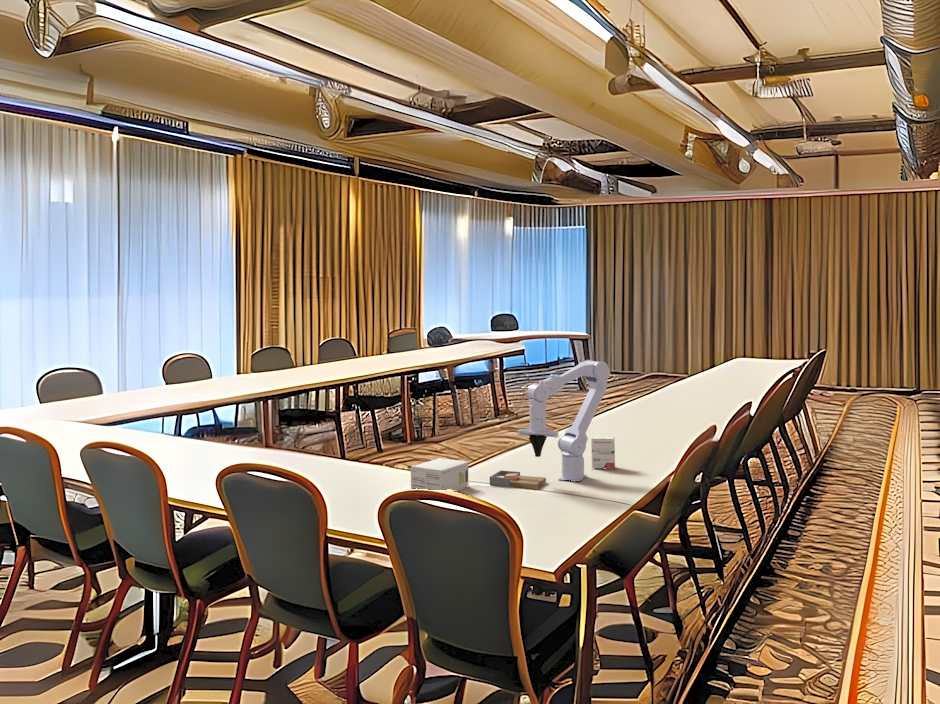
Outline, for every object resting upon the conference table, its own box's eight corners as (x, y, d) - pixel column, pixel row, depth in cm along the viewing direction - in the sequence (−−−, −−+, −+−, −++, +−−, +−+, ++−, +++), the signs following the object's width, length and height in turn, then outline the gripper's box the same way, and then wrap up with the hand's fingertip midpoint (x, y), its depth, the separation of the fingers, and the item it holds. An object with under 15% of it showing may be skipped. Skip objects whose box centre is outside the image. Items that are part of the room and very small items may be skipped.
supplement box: (441, 497, 286) (441, 470, 285) (410, 492, 293) (409, 466, 293) (469, 487, 300) (469, 460, 299) (439, 482, 307) (438, 457, 307)
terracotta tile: (508, 478, 306) (507, 473, 305) (518, 477, 304) (518, 473, 304) (504, 480, 302) (503, 476, 302) (514, 480, 300) (514, 475, 300)
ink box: (615, 467, 327) (615, 436, 326) (614, 469, 322) (614, 439, 321) (592, 466, 329) (592, 436, 328) (591, 469, 324) (591, 438, 323)
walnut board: (519, 480, 308) (519, 475, 308) (546, 482, 304) (545, 477, 303) (509, 486, 299) (509, 481, 298) (536, 489, 295) (536, 484, 294)
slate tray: (500, 478, 311) (500, 470, 311) (520, 480, 308) (520, 471, 308) (489, 485, 302) (489, 476, 301) (509, 486, 299) (509, 478, 298)
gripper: (514, 418, 299) (514, 457, 301) (553, 421, 294) (554, 460, 295) (521, 415, 306) (521, 453, 307) (560, 417, 300) (560, 455, 301)
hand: (538, 456), depth 301 cm, fingers closed
